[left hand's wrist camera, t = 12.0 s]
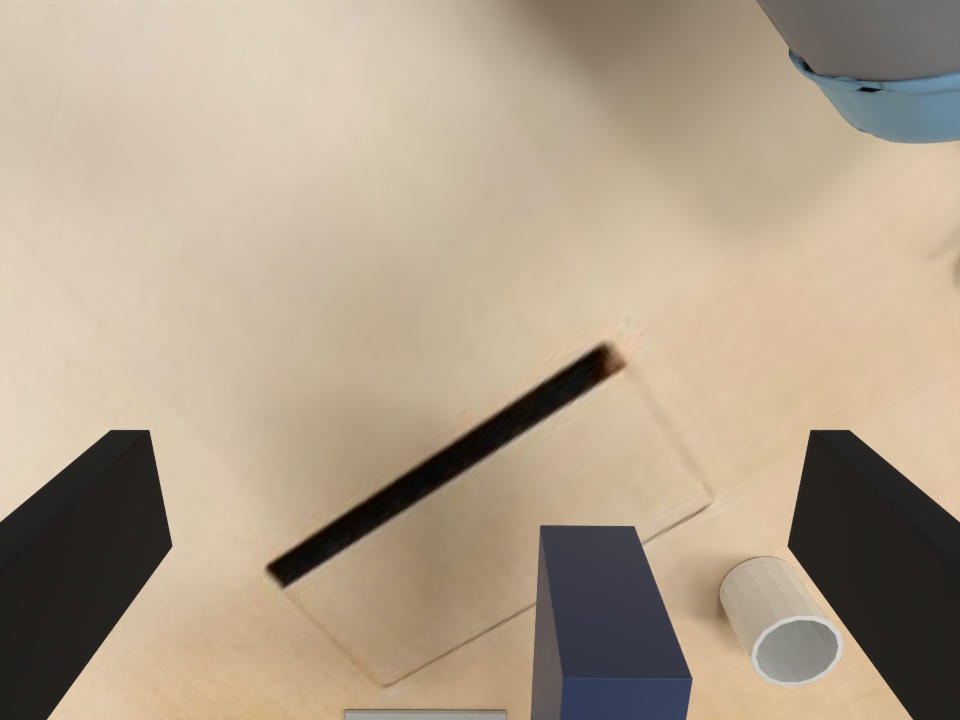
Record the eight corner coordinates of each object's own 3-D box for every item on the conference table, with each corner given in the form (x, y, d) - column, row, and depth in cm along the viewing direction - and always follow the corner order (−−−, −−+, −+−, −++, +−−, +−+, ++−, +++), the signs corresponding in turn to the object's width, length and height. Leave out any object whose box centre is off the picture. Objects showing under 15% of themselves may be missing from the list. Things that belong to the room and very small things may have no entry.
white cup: (725, 556, 50) (759, 615, 44) (806, 556, 50) (851, 616, 44) (714, 621, 53) (745, 686, 46) (791, 621, 53) (833, 687, 46)
